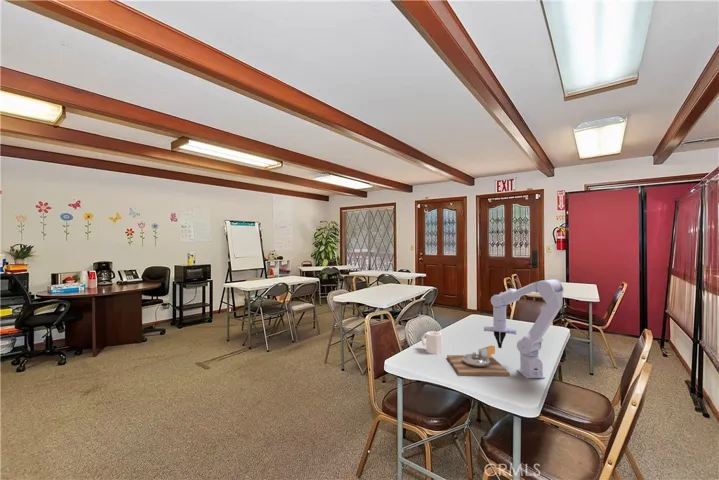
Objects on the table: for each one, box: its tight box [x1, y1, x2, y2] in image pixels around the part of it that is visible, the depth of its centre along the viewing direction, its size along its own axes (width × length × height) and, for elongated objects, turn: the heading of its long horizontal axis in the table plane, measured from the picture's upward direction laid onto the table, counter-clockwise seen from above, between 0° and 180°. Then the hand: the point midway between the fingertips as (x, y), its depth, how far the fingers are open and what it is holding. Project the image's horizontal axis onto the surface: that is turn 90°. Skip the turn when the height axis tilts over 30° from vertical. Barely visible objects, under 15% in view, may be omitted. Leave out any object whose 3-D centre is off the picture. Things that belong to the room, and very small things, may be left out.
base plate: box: [446, 354, 511, 377], centre depth 152 cm, size 22×22×2 cm
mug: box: [420, 330, 443, 355], centre depth 174 cm, size 12×9×10 cm
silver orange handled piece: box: [462, 345, 496, 367], centre depth 154 cm, size 20×12×6 cm, turn 123°
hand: (499, 347), depth 156 cm, fingers closed
